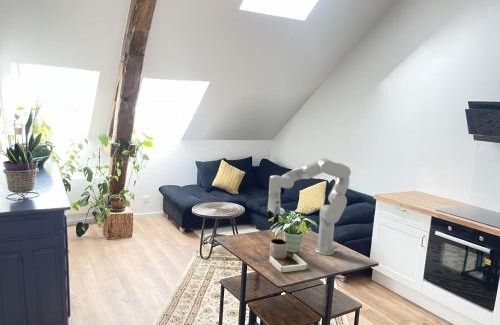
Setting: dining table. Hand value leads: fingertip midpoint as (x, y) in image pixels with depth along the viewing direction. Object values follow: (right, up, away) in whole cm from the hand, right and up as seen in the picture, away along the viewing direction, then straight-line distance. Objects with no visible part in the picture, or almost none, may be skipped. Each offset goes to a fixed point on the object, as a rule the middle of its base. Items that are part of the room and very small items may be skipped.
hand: (272, 220), depth 240 cm
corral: (+8, -24, -19) cm, 31 cm away
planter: (+3, -22, -6) cm, 23 cm away
